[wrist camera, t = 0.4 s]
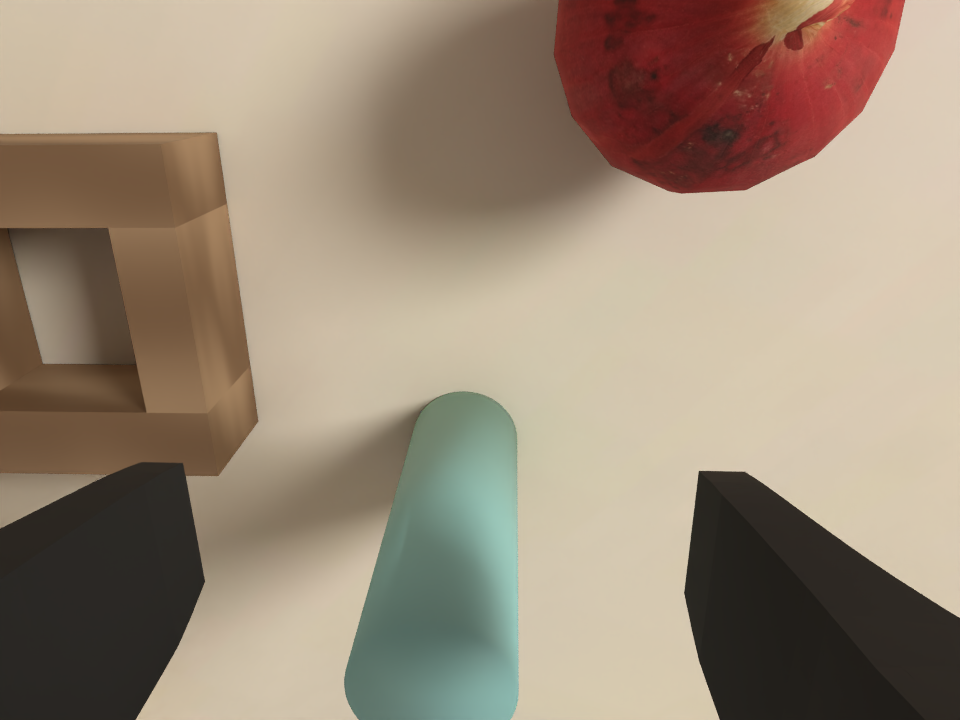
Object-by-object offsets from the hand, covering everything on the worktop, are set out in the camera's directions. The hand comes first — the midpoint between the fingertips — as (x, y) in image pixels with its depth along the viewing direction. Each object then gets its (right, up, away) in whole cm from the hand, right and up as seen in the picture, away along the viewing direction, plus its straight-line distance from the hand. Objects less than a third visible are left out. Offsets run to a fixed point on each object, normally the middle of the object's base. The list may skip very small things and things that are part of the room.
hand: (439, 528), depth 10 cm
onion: (+5, +10, +7) cm, 13 cm away
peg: (0, 0, +11) cm, 11 cm away
